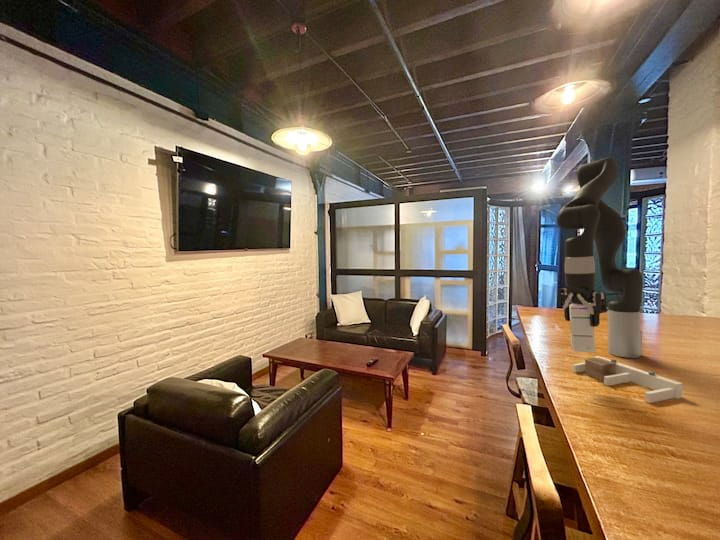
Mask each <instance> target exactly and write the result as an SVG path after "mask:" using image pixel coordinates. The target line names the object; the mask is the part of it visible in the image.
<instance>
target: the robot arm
mask: <svg viewBox="0 0 720 540" xmlns="http://www.w3.org/2000/svg"><path fill="white" fill-rule="evenodd" d="M618 176H619V166H618V163H617V161H616V159H614V158H613V157H603V158H600V159H597V160H595V161H590V162H588V163H583V164H580V165H579V166H578V167H577V171H576V177H577V178H576V179H577V182H578V185H579V189H578V190H577V192H576V193H575V194H574V197H573V198H572V200H570V201H568V203H566V204H565V205H564V206H563V207H561V209H560V210H559V212H558V213H557V216H556V224H557V226H558V228H560V229H561V230H563V231H573V230H574V231H575V230H583V232H582V233H581V234H580V235H577V236H574V237H570V238H567V239H565V242H564V285H565V287H562V288H557V305H558V307H562V308H563V310H564V311H563V313H564V318H565V321H567V322H570V313H569V304H570V303H575V304H577V303H578V304H582V305H584V306H585V308H587V309H588V310H589V312H590V313H591V314H590V326H592V327H594V328H595V327H599V325H600V322H601V321H600V319H601V318H600V314H605V313H607V322H608V323H607V328H608V331H607V332H608V333H607V334H608V335H607V336H608V353H609V354H610V355H613V356H616V357H621V358H627V359H628V358H629V359H639V358H641V356H643V331H642V329H641V306H642V300H643V297H642V296H643V284H644V283H643V279H644V278H643V275H642V272H641V270H639V269H637V268H617V265H616V255H617V253H618V251H619V249H620V247H621V246H622V244H623V242H624V240H625V237H626V230H625V225H624V220H623V218H622V216H621V214H619V212H617V211H616V210H615V209H614V208H612V207H611V206H609V205H608V204H606V203H605V202H604V201H603V200H602V197H603V195H604V194H605V193H607V191H608V190H610V188H611V187H612V185H613V184H614V183H615V182H616V181H617V178H618ZM594 244H595V247H596V252H597V256H598V257H597V258H598V262H599V270H600V271H599V272H600V278H601V283H602V286H603V288H604V289H605V290H606V291H608V292H611V293H612V292H613V293H622V294H623V297H621V298H620V299H618V300H612V301H609V302H608V303H607V294H606V292H604V291H603V292H602V291H601V292H597V291H595V287H596V264H595V263H596V262H595V258H594V257H595V256H594ZM589 303H591V304H589ZM592 306H593V308H592Z"/></svg>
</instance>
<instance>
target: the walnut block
mask: <svg viewBox="0 0 720 540" xmlns="http://www.w3.org/2000/svg"><path fill="white" fill-rule="evenodd" d="M584 363H585V371H584V372H585V373H584V374H585V375H587V376H589V377H592V378H594V379H595V380H599V381H601V382H604V376H609V375H615V374H616V363H614V362H611V361H608V360H605V359H602V358H599V357H598V358H594V357H593V358H587V359H586V358H585V361H584Z"/></svg>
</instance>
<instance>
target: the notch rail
mask: <svg viewBox="0 0 720 540" xmlns="http://www.w3.org/2000/svg"><path fill="white" fill-rule="evenodd" d="M598 357H599V358H602V359H605V360H608V361H611V362H614V363H616V374H615V375H609V376H604V381H603V385H605V386H613V385H614V386H615V385H618V384H623V383H625V384H626V383H634V384H635V385H639V386H642V387H644V388H647V389H650V391H644V402H646V403H648V404H649V403H650V404H651V403H655V402H660V401H666V400H669V399H682V398H683V383H682V382H679V381H676V380H674V379H670V378H667V377H664V376H661V375H657V374H656V372H655V371H651V370H648V371H646V370H644V369H639V368H636V367H634V366H630V365H628V364H624V363H621V362H618V361H617V359H615V358H611V359H608V358H606V357H603V356H600V355H599V356H598V355H597V356H594V357H593V358H598ZM572 372H573V373H575V374H576V373H582V372H585V362H579V363H573V364H572Z"/></svg>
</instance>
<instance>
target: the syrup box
mask: <svg viewBox="0 0 720 540" xmlns="http://www.w3.org/2000/svg"><path fill="white" fill-rule="evenodd" d="M589 304H591V303H589ZM592 308H593V306H592ZM569 313H570V321H569V329H570V330H569V331H570V345H571V349H572V351H573V352H581V353H589V354H590V353H596V342H595V327H592V326H590V314H591V313H590V312H589V310H588V309H587V308H585V306H584V305H582V304H578V303H577V304H575V303H570V304H569Z"/></svg>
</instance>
